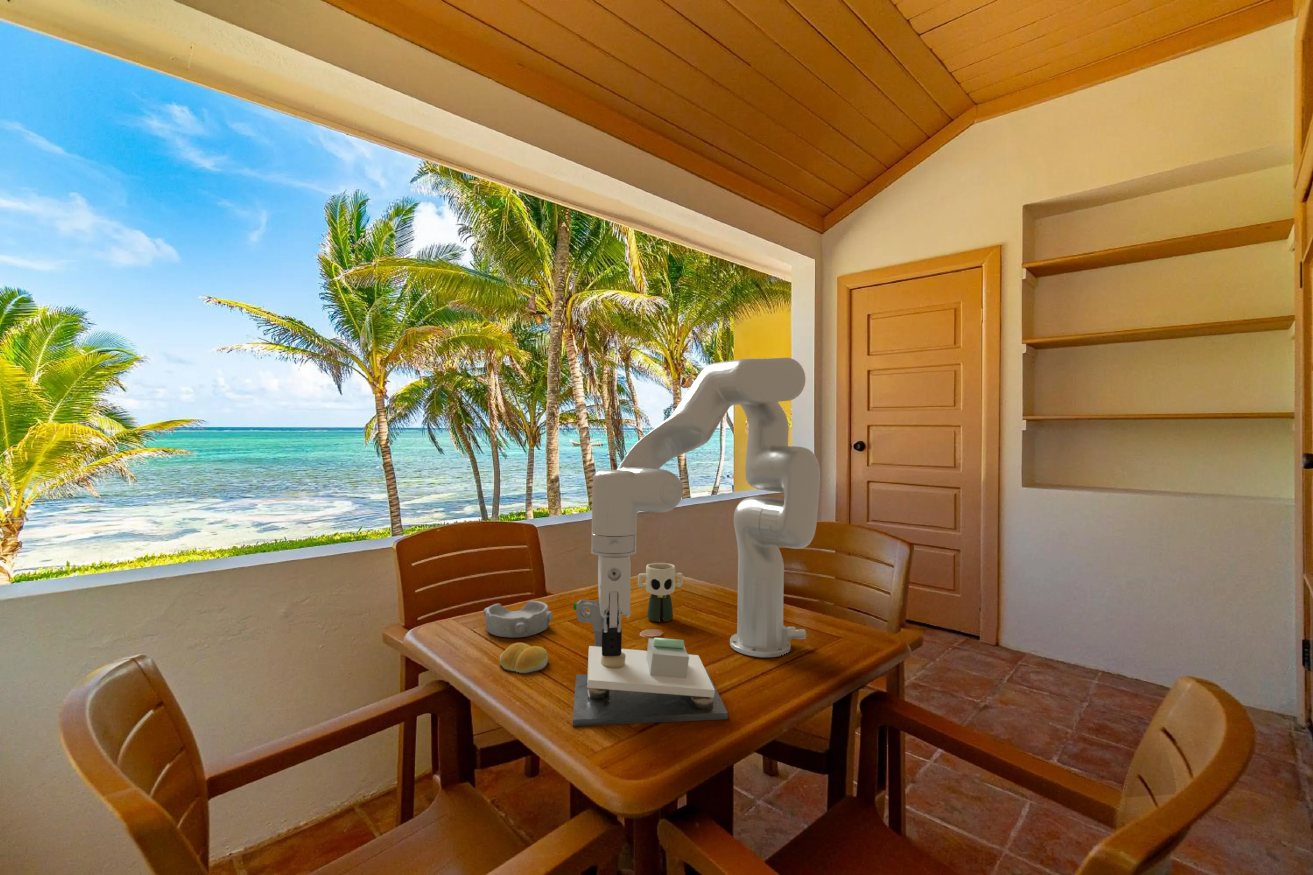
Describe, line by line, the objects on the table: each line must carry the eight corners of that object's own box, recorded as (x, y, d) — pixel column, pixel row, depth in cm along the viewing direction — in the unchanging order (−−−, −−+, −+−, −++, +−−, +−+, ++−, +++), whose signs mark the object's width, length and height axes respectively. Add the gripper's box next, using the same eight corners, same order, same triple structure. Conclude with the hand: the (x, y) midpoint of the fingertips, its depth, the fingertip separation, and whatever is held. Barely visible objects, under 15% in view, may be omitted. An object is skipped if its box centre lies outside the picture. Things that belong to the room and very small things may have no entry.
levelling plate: (697, 661, 101) (701, 628, 101) (713, 697, 87) (718, 658, 87) (588, 652, 99) (592, 618, 99) (587, 687, 85) (592, 648, 85)
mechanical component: (620, 656, 111) (620, 606, 111) (571, 652, 113) (572, 603, 113) (624, 651, 114) (624, 602, 114) (576, 646, 116) (577, 599, 116)
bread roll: (533, 677, 101) (533, 655, 101) (492, 669, 104) (493, 648, 104) (557, 660, 109) (557, 640, 109) (518, 653, 112) (519, 634, 112)
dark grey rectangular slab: (707, 675, 102) (707, 660, 102) (727, 719, 87) (727, 701, 87) (576, 680, 100) (576, 664, 100) (572, 726, 84) (572, 707, 84)
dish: (475, 627, 127) (476, 606, 127) (530, 615, 136) (530, 595, 136) (503, 646, 116) (503, 622, 116) (561, 631, 125) (561, 609, 125)
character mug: (638, 625, 130) (639, 569, 130) (636, 615, 137) (637, 562, 137) (684, 623, 131) (685, 568, 131) (680, 614, 138) (680, 562, 138)
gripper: (639, 552, 86) (637, 671, 85) (633, 536, 100) (630, 637, 100) (590, 552, 85) (588, 673, 85) (591, 536, 100) (589, 638, 99)
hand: (611, 653), depth 92 cm, fingers closed
